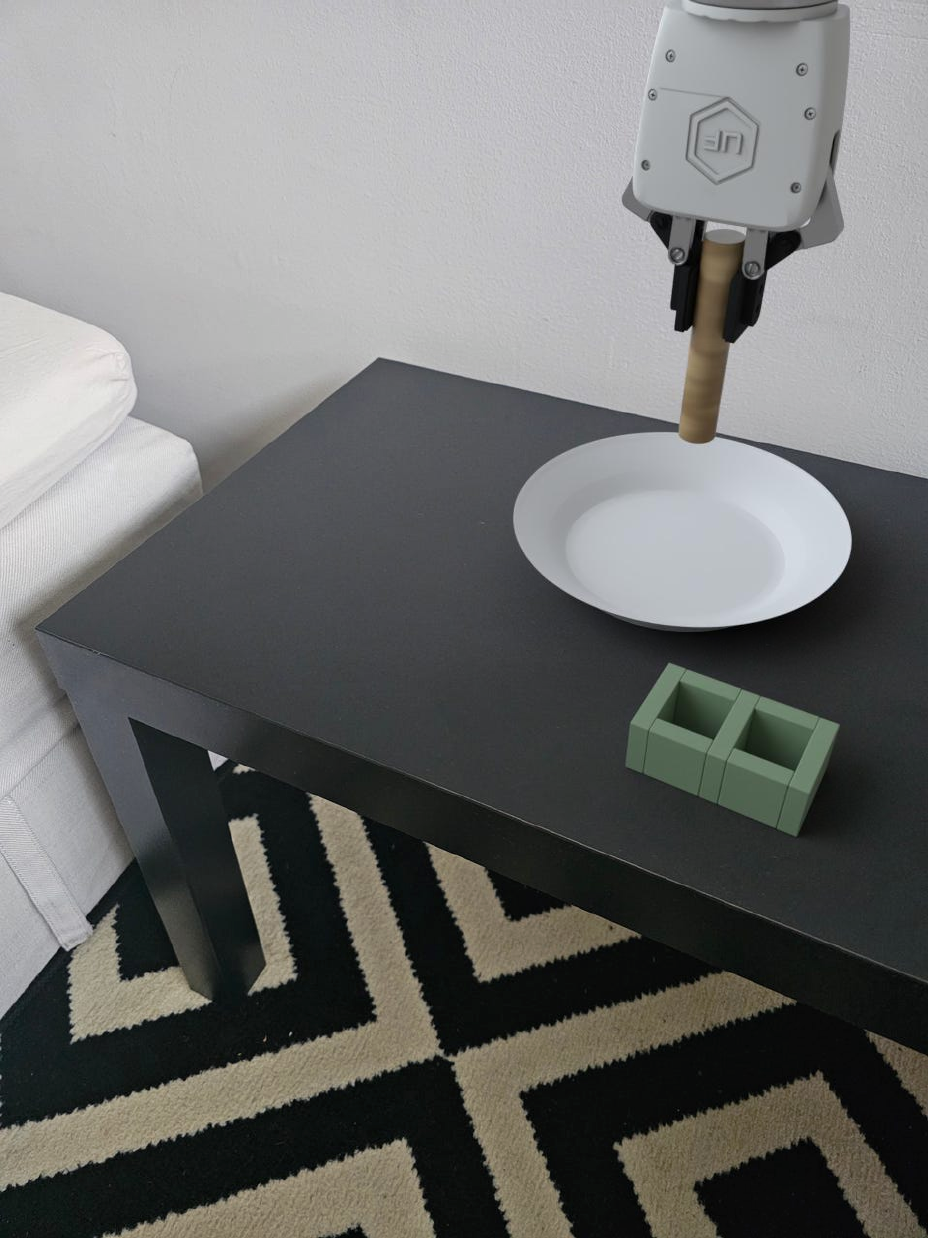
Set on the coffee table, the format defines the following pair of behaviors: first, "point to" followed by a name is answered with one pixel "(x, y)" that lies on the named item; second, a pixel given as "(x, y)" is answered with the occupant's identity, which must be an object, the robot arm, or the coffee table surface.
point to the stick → (709, 336)
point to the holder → (731, 747)
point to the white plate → (682, 531)
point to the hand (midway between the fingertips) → (712, 326)
